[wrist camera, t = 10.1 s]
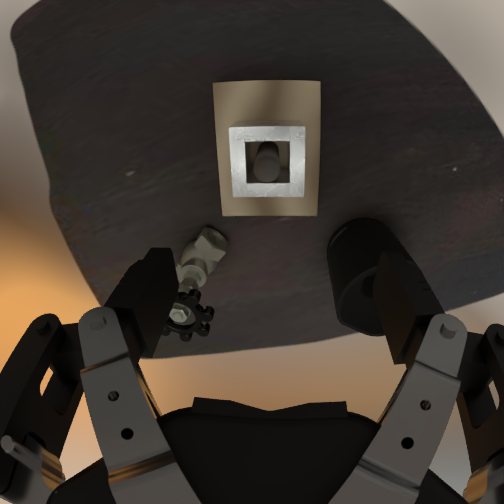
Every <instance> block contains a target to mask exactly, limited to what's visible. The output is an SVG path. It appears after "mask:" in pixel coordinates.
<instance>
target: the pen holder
mask: <svg viewBox="0 0 504 504" xmlns="http://www.w3.org/2000/svg"><path fill="white" fill-rule="evenodd" d="M382 252H401V253H402V254H403V255H404V257H405V259H406V260H407V262H408V264H409V265H413V266H415V267H416V268H417V269H418V270H419V271H421V270H420V269H419V267H418V266H417V264H416V263H415V262H414V260H413V259H412V258H411V256H410V255H409V254H408V252H407V251H406V250H405V248H404V247H403V246H402V244H401V243H400V242H399V241H398V239H397V238H396V237H395V236H394V234H393V233H392V232H391V231H390V230H389V229H388V227H386V226H385V225H384V224H383V223H381V222H379V221H376V220H373V219H358V220H354V221H352V222H349V223H347V224H345V225H344V226H342V227H341V228H340V229H339V230H338V231H337V232H336V233H335V234H334V235H333V237H332V238H331V240H330V243H329V245H328V250H327V260H328V267H329V273H330V278H331V284H332V290H333V296H334V302H335V308H336V314H337V318H338V320H339V322H340V323H341V324H343V325H345V326H347V327H350V328H352V329H354V330H356V331H358V332H360V333H363V334H366V335H369V336H384V335H385V333H384V329H383V326H382V323H381V320H380V317H379V314H378V311H377V309H376V306H375V303H374V300H373V284H374V280H375V275H376V271H377V267H378V263H379V258H380V255H381V253H382ZM422 274H423V273H422Z"/></svg>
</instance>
